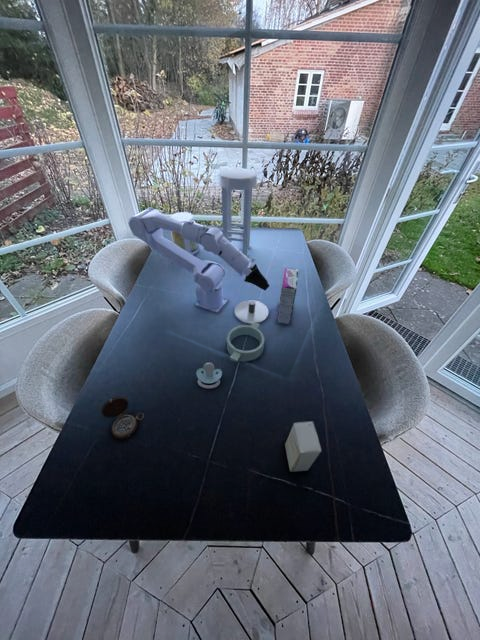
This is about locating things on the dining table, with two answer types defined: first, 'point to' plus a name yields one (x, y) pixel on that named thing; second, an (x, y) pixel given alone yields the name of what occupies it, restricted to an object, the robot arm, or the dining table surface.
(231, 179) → the stool
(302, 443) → the cosmetic box
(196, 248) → the supplement tub
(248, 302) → the lid
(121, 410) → the compass
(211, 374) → the pacifier
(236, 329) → the grey-green ring with tabs
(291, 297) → the candy bar box
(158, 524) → the dining table surface
